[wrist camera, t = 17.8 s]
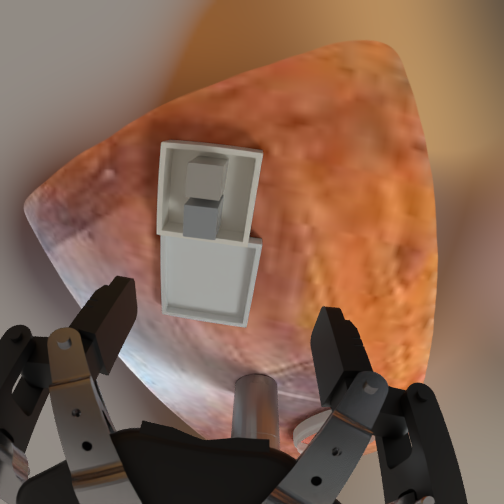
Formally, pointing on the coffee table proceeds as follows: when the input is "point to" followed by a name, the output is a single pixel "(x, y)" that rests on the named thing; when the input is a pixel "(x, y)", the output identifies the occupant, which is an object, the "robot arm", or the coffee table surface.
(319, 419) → the white ring
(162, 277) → the parts tray
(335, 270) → the coffee table surface
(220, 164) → the light grey block
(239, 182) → the open box
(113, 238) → the coffee table surface
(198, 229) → the blue-grey block
